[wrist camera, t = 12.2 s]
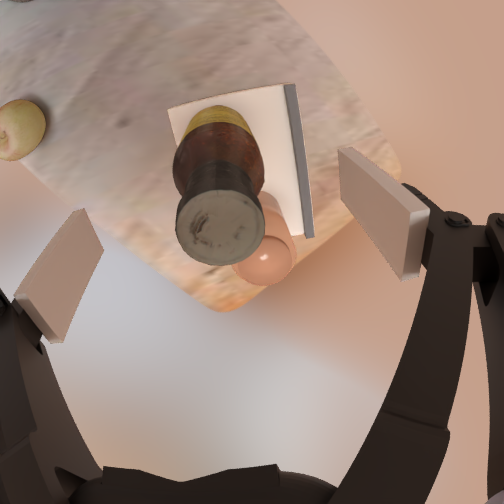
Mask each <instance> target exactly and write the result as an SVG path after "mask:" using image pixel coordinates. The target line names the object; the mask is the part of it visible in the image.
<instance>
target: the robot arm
mask: <svg viewBox="0 0 504 504" xmlns="http://www.w3.org/2000/svg"><path fill="white" fill-rule="evenodd" d="M10 1H16V2H27V1H31V0H10ZM338 160H339V174H340V192H341V200H342V201H343V203H344V204H345V205H346V207H347V208H348V209H349V210H350V212H351V213H352V214H353V216H354V217H355V218H356V219H357V221H358V222H359V223H360V225H361V226H362V227H363V229H364V230H365V231H366V233H367V234H368V235H369V237H370V238H371V240H372V241H373V242H374V244H375V245H376V246H377V247H378V249H379V251H380V252H381V253H382V255H383V256H384V258H385V259H386V260H387V262H388V263H389V265H390V266H391V267H392V269H393V271H394V272H395V274H396V275H397V277H398V278H399V280H400V281H401V282H402V281H405V280H409V279H413V278H416V277H419V273H420V268H421V263H422V265H423V266H424V267H425V268H426V270H427V272H426V276H425V281H424V285H423V289H422V292H421V296H420V300H419V304H418V307H417V311H416V314H415V317H414V321H413V324H412V327H411V330H410V333H409V336H408V340H407V343H406V346H405V348H404V351H403V354H402V357H401V359H400V362H399V365H398V368H397V370H396V373H395V375H394V378H393V381H392V383H391V385H390V388H389V390H388V393H387V395H386V397H385V399H384V402H383V404H382V406H381V408H380V410H379V413H378V415H377V417H376V419H375V421H374V423H373V425H372V427H371V429H370V431H369V433H368V435H367V437H366V439H365V441H364V443H363V445H362V447H361V449H360V451H359V453H358V454H357V456H356V458H355V460H354V461H353V463H352V465H351V467H350V468H349V470H348V472H347V474H346V475H345V477H344V479H343V480H342V482H341V484H340V485H339V487H338V488H337V487H335V486H333V485H331V484H329V483H328V482H325V481H323V480H321V479H318V478H316V477H312V476H309V475H305V474H300V473H294V472H283V471H280V469H279V467H278V466H277V464H273V465H266V466H258V467H249V468H239V469H228V470H225V471H221V472H219V473H215V474H211V475H208V476H205V477H200V478H197V479H193V480H189V481H185V482H177V481H173V480H170V479H166V478H163V477H160V476H156V475H153V474H150V473H147V472H144V471H141V470H136V469H124V468H115V467H107V466H103V471H102V470H101V469H100V468H99V466H98V465H97V463H96V462H95V460H94V458H93V456H92V455H91V453H90V451H89V449H88V447H87V445H86V444H85V442H84V440H83V438H82V436H81V434H80V432H79V430H78V428H77V426H76V424H75V422H74V420H73V417H72V415H71V413H70V411H69V409H68V407H67V404H66V402H65V399H64V397H63V395H62V392H61V390H60V387H59V385H58V382H57V380H56V377H55V374H54V372H53V369H52V366H51V363H50V361H49V357H48V354H47V351H46V349H45V346H44V345H43V343H42V342H41V341H40V339H41V337H42V334H43V335H44V336H45V338H46V339H47V340H48V341H49V342H50V343H51V344H53V343H63V341H64V338H65V336H66V333H67V331H68V328H69V326H70V323H71V321H72V319H73V316H74V314H75V311H76V309H77V307H78V304H79V302H80V300H81V297H82V295H83V293H84V291H85V289H86V287H87V285H88V282H89V280H90V278H91V276H92V274H93V272H94V270H95V268H96V266H97V264H98V262H99V260H100V258H101V256H102V254H103V252H104V249H103V247H102V245H101V243H100V241H99V239H98V237H97V235H96V233H95V231H94V229H93V226H92V225H91V222H90V220H89V218H88V216H87V213H86V211H85V209H84V208H83V209H80V210H77V211H74V212H73V213H72V214H71V215H70V217H69V218H68V219H67V220H66V221H65V223H64V224H63V225H62V227H61V228H60V229H59V230H58V232H57V233H56V234H55V236H54V237H53V238H52V239H51V241H50V242H49V244H48V245H47V246H46V248H45V249H44V251H43V252H42V253H41V255H40V256H39V257H38V259H37V260H36V262H35V263H34V264H33V266H32V268H31V269H30V270H29V272H28V273H27V275H26V276H25V278H24V279H23V281H22V283H21V284H20V286H19V287H18V289H17V291H16V292H15V294H14V297H15V298H14V300H13V301H12V303H10V301H9V300H8V299H7V297H6V296H5V294H4V293H3V292H2V290H1V289H0V504H425V502H426V500H427V497H428V495H429V493H430V491H431V489H432V486H433V484H434V482H435V479H436V477H437V475H438V472H439V470H440V467H441V465H442V462H443V459H444V457H445V454H446V451H447V447H448V444H449V440H450V431H449V430H448V428H447V424H448V420H449V416H450V413H451V409H452V405H453V402H454V397H455V394H456V390H457V386H458V381H459V377H460V372H461V367H462V362H463V357H464V351H465V345H466V339H467V332H468V324H469V315H470V306H471V293H472V282H473V286H474V290H475V294H476V299H477V304H478V309H479V314H480V319H481V325H482V331H483V337H484V344H485V352H486V361H487V369H488V383H489V404H490V437H489V455H488V472H487V495H488V501H487V502H486V503H485V504H504V214H500V213H492V214H490V215H489V217H488V220H487V225H486V226H484V225H472V222H471V221H470V220H469V219H468V218H467V217H466V216H464V215H463V214H460V213H457V212H452V211H446V212H444V211H443V210H441V209H440V208H439V207H438V206H437V205H436V204H434V203H433V202H432V201H431V200H429V199H428V198H427V197H426V196H425V195H422V193H421V192H420V191H419V190H417V189H416V188H415V187H413V186H410V185H408V184H405V183H402V184H400V183H399V182H398V181H397V180H395V179H394V178H393V177H392V176H390V175H389V174H388V173H386V172H385V171H384V170H383V169H381V168H380V167H379V166H377V165H376V164H375V163H373V162H372V161H371V160H369V159H368V158H367V157H365V156H364V155H362V154H361V153H360V152H358V151H357V150H355V149H354V148H353V147H349V148H341V149H338Z"/></svg>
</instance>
